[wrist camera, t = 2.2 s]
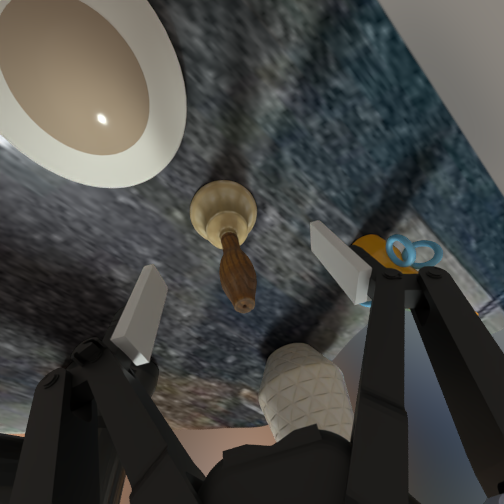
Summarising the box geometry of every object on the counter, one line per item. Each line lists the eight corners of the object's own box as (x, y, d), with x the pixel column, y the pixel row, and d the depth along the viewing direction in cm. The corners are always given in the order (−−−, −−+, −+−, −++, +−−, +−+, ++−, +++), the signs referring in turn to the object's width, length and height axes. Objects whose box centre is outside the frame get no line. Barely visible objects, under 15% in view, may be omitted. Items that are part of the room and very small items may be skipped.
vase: (305, 378, 53) (361, 523, 34) (242, 379, 47) (265, 553, 28) (340, 334, 45) (439, 490, 26) (269, 329, 39) (328, 523, 20)
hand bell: (188, 176, 23) (162, 249, 9) (260, 183, 24) (324, 252, 11) (190, 242, 27) (174, 357, 14) (252, 243, 29) (291, 346, 15)
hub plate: (62, 200, 22) (52, 205, 20) (-119, -42, 13) (-157, -61, 11) (209, 164, 22) (209, 166, 21) (134, -89, 14) (126, -112, 12)
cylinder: (332, 226, 30) (424, 300, 17) (399, 206, 30) (538, 264, 17) (333, 286, 36) (399, 370, 24) (387, 269, 37) (481, 343, 24)
